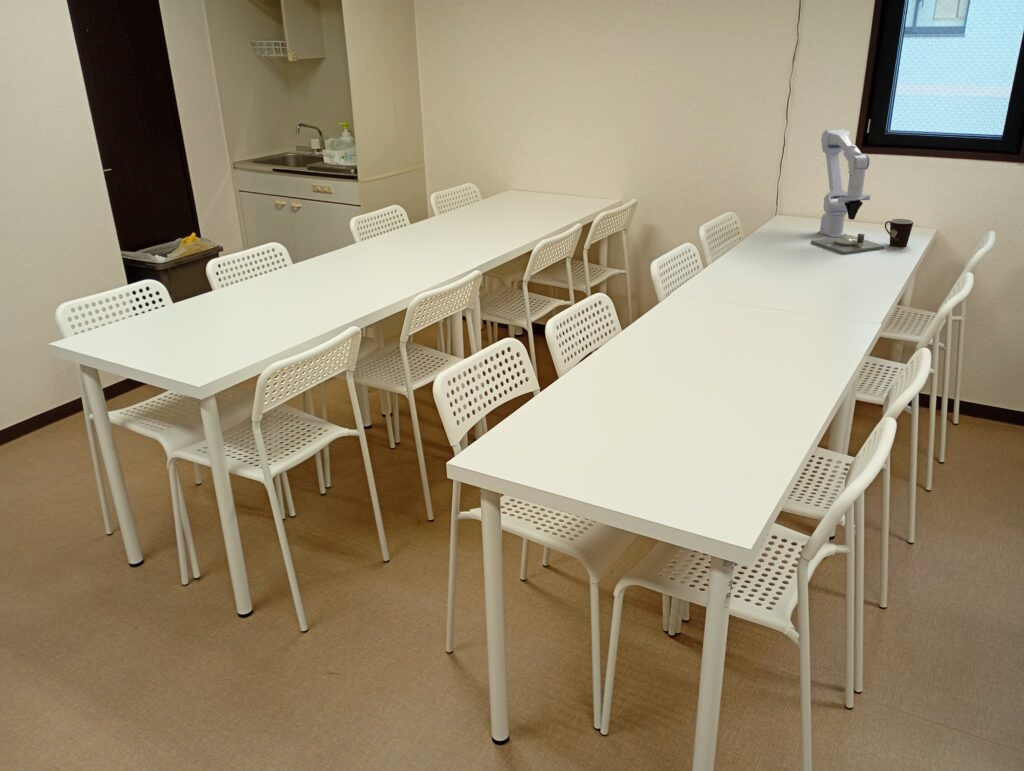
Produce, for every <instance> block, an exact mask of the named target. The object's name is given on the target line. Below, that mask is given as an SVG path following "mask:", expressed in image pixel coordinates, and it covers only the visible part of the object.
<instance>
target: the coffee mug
mask: <svg viewBox="0 0 1024 771" xmlns="http://www.w3.org/2000/svg"><path fill="white" fill-rule="evenodd" d="M888 223H889V226H890V227H889V229H888V227H887V225H888ZM914 223H915V221H914V220H911V219H907V218H892V219H890V220H889V221H886V222H885V223H884V229H885V231H886V232H887V234H888V235H889V246H890V247H893V248H906V247H907V246H908V243H909V239H910V236H911V231H912V228H913V225H914Z"/></svg>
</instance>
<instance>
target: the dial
mask: <svg viewBox="0 0 1024 771" xmlns="http://www.w3.org/2000/svg"><path fill="white" fill-rule="evenodd" d="M849 235H850V234H849ZM849 235H848V234H847V235H842V236H835V241H834V243H835V244H837V245H842V246H863V243H864V239H865V233H858V234H857V236H855V235H852V236H849Z"/></svg>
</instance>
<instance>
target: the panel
mask: <svg viewBox="0 0 1024 771" xmlns="http://www.w3.org/2000/svg"><path fill="white" fill-rule="evenodd" d="M849 236H853V235H851V234H849ZM835 237H836V236H835ZM835 237H827V238H820V239H819V238H818V239H813V240H810V244H811V245H814V246H817V247H820V248H823V249H826V250H829V251H831V252H834V253H837V254H840V255H842V256H844V255H851V254H859V253H864V252H865V253H866V252H871V251H873V252H874V251H879V250H884V249H885V245H884V244H883V245H882V244H880V243H876V242H873V241H870V240H869V239H868V240H867V239H865V238H864V243H863V246H842V245H837V244H835V243H834V241H835Z"/></svg>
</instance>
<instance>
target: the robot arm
mask: <svg viewBox="0 0 1024 771" xmlns="http://www.w3.org/2000/svg"><path fill="white" fill-rule="evenodd" d="M820 138H821V141H820V142H821V148H822V150H821V151H822V153H824V154H825V158H826V159H825V161H826V167H827V168H826V169H827V176H828V185H829V186H828V187H829V192H827V194H826V195H825V196H824V198H823V211H824V213H823V214H822V215H821V219H820V228H819V230H818V231H817V232H818V233H819V234H822V235H825V236H829V237H830V238H833V237H836V236H842V235H848V234H847V232H844V228H845V226H844V225H845V218H846V215H847V216H848V217H847V218H848V220H850V221H852V220H855V218H856V216H857V214H858V211H859V210H860V208H861V206H863V201H870V200H871V195H870V194H863V191H864V183H865V176H866V170H868V168H869V167H870V157H869V155H868V154H863V153H862V152H861V150H860V149H859V148H858V146H857V145H856V144H852V142H851V140H850V132H849V130H848V129H847V128H845V129H829V130H828V129H825V130H824V131H823V132H822V135H821V137H820ZM842 152H843V153H842ZM840 153H842V154H843V156H844V158H845V159H846V161H847V167H848V175H849V177H848V182H847V183H848V185H847V191H845V190H844V189H843V183H842V181H843V180H842V175H841V166H840V165H841V164H840V156H839V155H840Z"/></svg>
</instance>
